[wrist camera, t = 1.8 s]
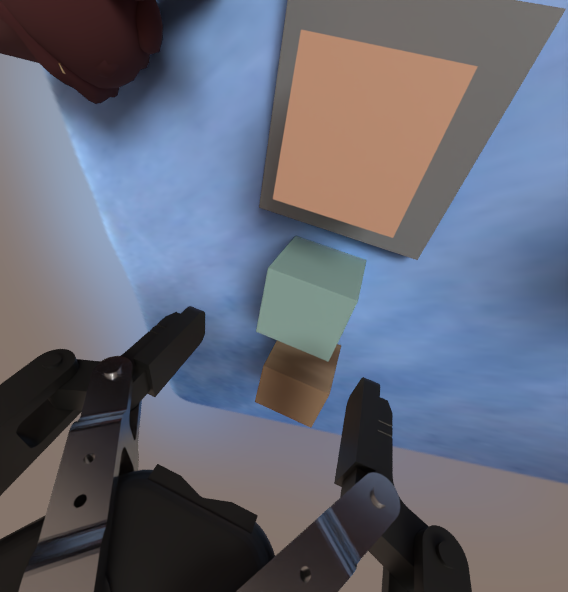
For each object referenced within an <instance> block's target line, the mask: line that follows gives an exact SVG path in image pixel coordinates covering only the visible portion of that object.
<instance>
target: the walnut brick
mask: <svg viewBox="0 0 568 592" xmlns="http://www.w3.org/2000/svg"><path fill="white" fill-rule="evenodd" d="M340 349H341V345H338V344H337V345H336V347H335V349H334V351H333V353H332V356H331V358H330V360H329V362H328V361H326V360H323V359H321V358H318V357H316V356H314V355H311V354H309V353H306V352H304V351H302V350H299V349H297V348H294V347H292V346H290V345H287V344H285V343H282V342H280V341H278V340H277V341H276V343H275V345H274V347H273V349H272V351H271V353H270V354H269V356H268V358H267V360H266V362H265V364H264V366H263V370H262V374H261V378H260V382H259V387H258V391H257V395H256V399H255V402H256V403H259V404H261V405H263V406H265V407H267V408H269V409H272V410H274V411H276V412H278V413H280V414H282V415H285V416H287V417H289V418H291V419H293V420H295V421H298V422H300V423H302V424H304V425H306V426H308V427H312V425H313V423H314V421H315V420H316V418H317V416H318V414H319V412H320V410H321V409H322V407H323V405H324V403H325V401H326V400H327V398H328V396H329V394H330V390H331V386H332V382H333V378H334V374H335V369H336V365H337V361H338V357H339V353H340Z"/></svg>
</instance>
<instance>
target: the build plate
mask: <svg viewBox="0 0 568 592" xmlns="http://www.w3.org/2000/svg"><path fill="white" fill-rule="evenodd" d="M565 10H566V9H564V8H558V7H552V6H546V5H540V4H534V3H528V2H522V1H516V0H288V2H287V9H286V16H285V23H284V31H283V38H282V45H281V52H280V60H279V67H278V74H277V81H276V89H275V96H274V103H273V110H272V118H271V125H270V132H269V139H268V147H267V154H266V161H265V168H264V176H263V183H262V190H261V198H260V205H259V208H262V209H265V210H268V211H271V212H274V213H277V214H280V215H283V216H286V217H289V218H292V219H295V220H298V221H301V222H304V223H307V224H310V225H313V226H316V227H319V228H322V229H325V230H328V231H331V232H334V233H337V234H340V235H343V236H346V237H349V238H352V239H355V240H358V241H361V242H364V243H367V244H370V245H373V246H376V247H379V248H383V249H386V250H389V251H392V252H395V253H398V254H401V255H404V256H407V257H410V258H413V259H416V260H418V258H419V256H420V255H421V253H422V251H423V250H424V248H425V246H426V245H427V243H428V241H429V239H430V238H431V236H432V234H433V233H434V231H435V229H436V228H437V226H438V224H439V223H440V221H441V219H442V217H443V216H444V214H445V212H446V211H447V209H448V207H449V206H450V204H451V202H452V201H453V199H454V197H455V196H456V194H457V192H458V190H459V189H460V187H461V185H462V184H463V182H464V180H465V179H466V177H467V175H468V174H469V172H470V170H471V168H472V167H473V165H474V163H475V162H476V160H477V158H478V157H479V155H480V153H481V152H482V150H483V148H484V146H485V145H486V143H487V141H488V140H489V138H490V136H491V135H492V133H493V131H494V130H495V128H496V126H497V125H498V123H499V121H500V119H501V118H502V116H503V114H504V113H505V111H506V109H507V108H508V106H509V104H510V103H511V101H512V99H513V97H514V96H515V94H516V92H517V91H518V89H519V87H520V86H521V84H522V82H523V81H524V79H525V77H526V75H527V74H528V72H529V70H530V69H531V67H532V65H533V64H534V62H535V60H536V59H537V57H538V55H539V53H540V52H541V50H542V48H543V47H544V45H545V43H546V42H547V40H548V38H549V37H550V35H551V33H552V32H553V30H554V28H555V26H556V25H557V23H558V21H559V20H560V18H561V16H562V15H563V13H564V11H565ZM301 30H306V31H311V32H316V33H320V34H325V35H330V36H335V37H339V38H344V39H349V40H354V41H359V42H363V43H368V44H373V45H378V46H382V47H387V48H392V49H397V50H402V51H406V52H411V53H416V54H421V55H425V56H430V57H435V58H440V59H445V60H449V61H454V62H459V63H464V64H468V65H473V66H478V67H477V69H476V71H475V73H474V75H473V77H472V79H471V81H470V83H469V85H468V87H467V89H466V91H465V93H464V95H463V97H462V99H461V101H460V103H459V105H458V107H457V110H456V112H455V114H454V116H453V118H452V120H451V122H450V124H449V126H448V128H447V130H446V132H445V134H444V136H443V138H442V140H441V142H440V144H439V146H438V148H437V150H436V152H435V154H434V156H433V158H432V160H431V162H430V164H429V166H428V168H427V170H426V172H425V174H424V176H423V178H422V180H421V182H420V184H419V186H418V188H417V190H416V192H415V194H414V196H413V198H412V200H411V202H410V205H409V207H408V209H407V211H406V213H405V215H404V217H403V219H402V221H401V223H400V225H399V227H398V229H397V231H396V233H395V235H394V237H393V238H391V237H388V236H385V235H382V234H379V233H376V232H373V231H370V230H367V229H364V228H361V227H357V226H354V225H351V224H348V223H345V222H342V221H339V220H336V219H333V218H330V217H327V216H323V215H320V214H317V213H314V212H311V211H308V210H305V209H302V208H299V207H296V206H293V205H289V204H286V203H283V202H280V201H277V200H274V199H273V194H274V188H275V182H276V176H277V170H278V164H279V158H280V152H281V146H282V140H283V134H284V128H285V122H286V117H287V111H288V105H289V99H290V93H291V87H292V81H293V75H294V69H295V63H296V57H297V51H298V45H299V39H300V33H301Z"/></svg>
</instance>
